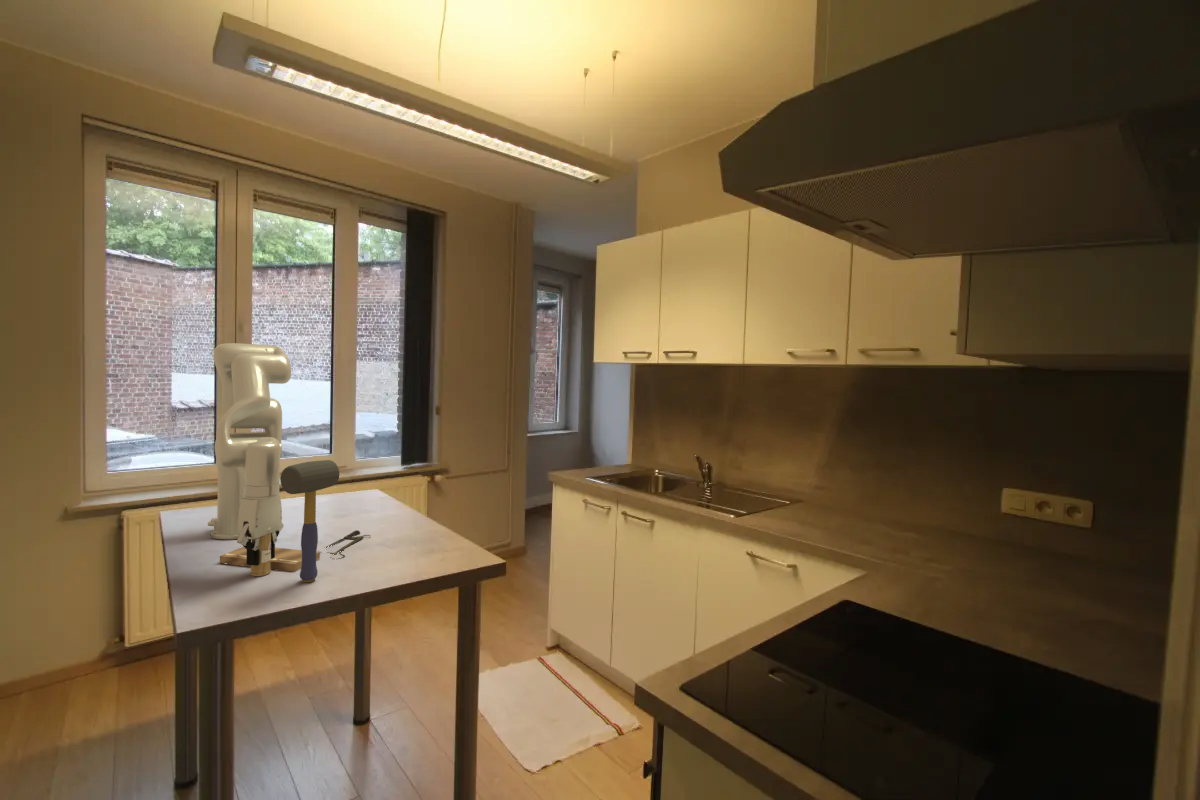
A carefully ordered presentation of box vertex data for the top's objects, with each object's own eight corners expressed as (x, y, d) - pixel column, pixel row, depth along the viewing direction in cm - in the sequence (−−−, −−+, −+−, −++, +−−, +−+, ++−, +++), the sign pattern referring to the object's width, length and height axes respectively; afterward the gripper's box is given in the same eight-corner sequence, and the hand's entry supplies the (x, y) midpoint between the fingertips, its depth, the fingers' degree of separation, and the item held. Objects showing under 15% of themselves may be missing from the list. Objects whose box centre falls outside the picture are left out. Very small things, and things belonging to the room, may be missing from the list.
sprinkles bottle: (271, 575, 141) (272, 522, 140) (250, 578, 139) (251, 524, 138) (270, 569, 145) (271, 518, 144) (249, 572, 142) (250, 520, 142)
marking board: (219, 563, 147) (219, 555, 147) (248, 551, 157) (249, 544, 157) (294, 571, 144) (294, 563, 144) (319, 559, 154) (319, 551, 154)
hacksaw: (355, 533, 180) (355, 529, 180) (385, 536, 178) (385, 532, 178) (305, 557, 156) (305, 552, 156) (339, 561, 154) (339, 555, 154)
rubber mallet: (317, 570, 146) (320, 456, 144) (339, 575, 143) (342, 459, 142) (275, 586, 134) (277, 463, 133) (298, 592, 131) (300, 466, 130)
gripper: (273, 483, 150) (272, 549, 150) (221, 496, 133) (220, 571, 134) (298, 485, 148) (297, 552, 149) (249, 499, 132) (247, 574, 133)
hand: (260, 560), depth 142 cm, fingers closed on sprinkles bottle, 4 cm apart
